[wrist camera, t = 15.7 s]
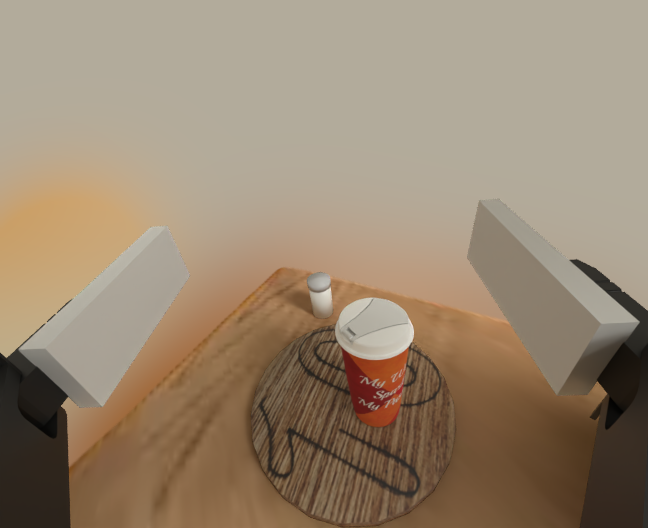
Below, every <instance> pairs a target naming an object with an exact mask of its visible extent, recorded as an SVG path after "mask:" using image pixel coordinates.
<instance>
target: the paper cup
mask: <svg viewBox="0 0 648 528" xmlns="http://www.w3.org/2000/svg"><path fill="white" fill-rule="evenodd" d="M335 335H336V339H337V341H338V343H339V344H340V345H341V350H342V355H343V360H344V365H345V371H346V376H347V381H348V385H349V390H350V394H351V399H352V403H353V407H354V411H355V413H356V415H357V416H358V418H359V419H360V420H361V421H362V422H363V423H365V424H367V425H369V426H372V427H384V426H387V425H389V424H391V423H392V422H393V421H394V420H395V419H396V418H397V416H398V413H399V410H400V404H401V398H402V391H403V384H404V377H405V370H406V363H407V355H408V348H409V345H410V344H411V342H412V340H413V336H414V330H413V325H412V323H411V321H410V320H409V318H408V315H407V313H406V312H405V311H404V310H403V309H402V308H401V307H400V306H398V305H397V304H395V303H393V302H391V301H389V300H385V299H380V298H364V299H360V300H357V301H355V302H352V303H351V304H349V305H348V306H346V307H345V308H344V309H343V311H342V312H341V314H340V316H339V319H338V321H337V323H336V327H335Z"/></svg>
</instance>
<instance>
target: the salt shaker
mask: <svg viewBox="0 0 648 528" xmlns="http://www.w3.org/2000/svg"><path fill="white" fill-rule="evenodd" d="M307 284H308V288H309V292H310V298H311V303H312V309H313V314H314V316H315V317H317V318H320V319H325V318H328V317H330V316H331V315H332V314H333V303H332V295H331V281H330V276H329V275H328V274H326V273H322V272H318V273H314V274H312V275H310V276H309V277H308V279H307Z"/></svg>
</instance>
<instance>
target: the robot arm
mask: <svg viewBox="0 0 648 528" xmlns="http://www.w3.org/2000/svg"><path fill="white" fill-rule="evenodd" d="M467 258H468V260H469V261H470V263H471V264H472V266H473V268H474V269H475V271H476V272H477V274H478V275H479V277H480V278H481V280H482V281H483V283H484V284H485V286H486V288H487V289H488V291H489V292H490V294H491V295H492V297H493V298H494V300H495V301H496V303H497V304H498V306H499V308H500V309H501V311H502V312H503V314H504V315H505V317H506V318H507V320H508V321H509V323H510V324H511V326H512V328H513V329H514V331H515V332H516V334H517V335H518V337H519V338H520V340H521V341H522V343H523V344H524V346H525V348H526V349H527V351H528V352H529V354H530V355H531V357H532V358H533V360H534V361H535V363H536V364H537V366H538V368H539V369H540V371H541V372H542V374H543V375H544V377H545V378H546V380H547V381H548V383H549V384H550V386H551V388H552V389H553V391H554V392H555V394H556V395H557V396H560V395H588V393H589V392H590V390H591V389H592V388H593V386H594V385H595V383H596V382H597V381H598V382H599V383H600V385H601V386H602V387H603V388H604V390H605V391H606V392H607V393H608V394H607V395H606V396H605V398H604V399H603V400H602V402H601V403H600V404H599V405H598V407H597V408H596V409H595V410H594V412H593V413H592V415H591V416H590V418H592V419H594V420H596V419H597V417H598V416H599V415H600V417H599V422H598V428H597V433H596V439H595V445H594V450H593V456H592V461H591V467H590V473H589V478H588V484H587V489H586V495H585V501H584V506H583V512H582V517H581V523H580V528H648V311H647V310H646V309H645V308H643V307H642V306H641V305H640V304H639V303H637V302H636V301H635V300H634V299H632V298H631V297H630V296H629V295H628V294H626V293H625V292H622V291H621V289H620V288H619V287H618V286H617V285H615V284H614V283H612V282H610V280H609V279H608V278H607V277H606V276H604V275H603V274H602V273H600V272H599V271H598V270H597V269H596V268H594V267H591V266H590V265H587V264H585V263H583V262H581V261H579V260H577V259H576V260H568V259H567V258H566V257H565V256H564V255H562V254H561V253H560V252H559V251H558V250H557V249H556V248H555V247H553V246H552V245H551V244H550V243H549V242H548V241H547V240H545V239H544V238H543V237H542V236H541V235H540V234H539V233H537V232H536V231H535V230H534V229H533V228H532V227H531V226H529V225H528V224H527V223H526V222H525V221H524V220H523V219H521V218H520V217H519V216H518V215H517V214H516V213H514V212H513V211H512V210H511V209H510V208H509V207H508V206H507V205H505V204H504V203H503V202H502V201H501V200H500V199H491V200H479V203H478V207H477V212H476V217H475V222H474V227H473V232H472V237H471V241H470V246H469V251H468V256H467ZM189 277H190V274H189V272H188V270H187V268H186V266H185V263H184V261H183V259H182V257H181V255H180V252H179V250H178V248H177V246H176V244H175V242H174V239H173V237H172V235H171V233H170V231H169V228H168V226H159V227H151V228H149V229H148V230H147V231H146V232H145V233H144V234H143V235H142V236H141V237H140V238H139V239H137V240H136V241H135V242H134V243H133V244H132V245H131V246H130V247H129V248H128V249H127V250H126V251H125V252H123V254H121V255H120V256H119V257H118V258H117V259H116V260H115V261H114V262H113V263H111V265H109V266H108V267H107V268H106V269H105V270H104V271H103V272H102V273H101V274H100V275H98V276H97V278H95V279H94V280H93V281H92V282H91V283H90V284H89V285H88V286H86V287H85V288H84V289H83V290H82V291H81V292H80V293H79V294H78V295H77V296H76V297H75V298H73V299H72V300H70V301H69V302H67V303H66V304H65V305H64V306H63V307H62V308H61V309H60V310H59V311H58V312H57V314H54V315H53V316H52V317H51V318H50V319H49V320H48V321H47V323H46V324H43V325H42V326H41V327H40V328H39V329H38V330H37V331H36V332H35V333H34V334H33V335H31V336H30V337H29V338H28V339H27V340H26V341H25V342H24V343H23V344H22V345H21V346H20V347H18V348H17V349H16V350H15V351H14V352H13V353H12V354H11V355H10V356H8V357H7V358H6V357H4V356H3V355H2V354H1V353H0V528H70V498H69V466H68V434H67V414H66V411H65V409H63V408H62V407H61V405H62V404H63V402H64V401H65V400H66V399H67V397H69V398H70V399H71V400H72V401H73V402H74V403H75V404H77V405H78V406H79V407H80V408H82V407H103V406H104V404H105V403H106V401H107V400H108V398H109V397H110V395H111V394H112V392H113V391H114V389H115V388H116V386H117V385H118V383H119V382H120V380H121V379H122V377H123V376H124V374H125V373H126V371H127V369H128V368H129V367H130V365H131V364H132V362H133V361H134V359H135V358H136V356H137V355H138V353H139V352H140V350H141V349H142V347H143V346H144V344H145V343H146V341H147V340H148V338H149V337H150V335H151V334H152V332H153V331H154V329H155V328H156V326H157V325H158V323H159V322H160V320H161V319H162V317H163V316H164V314H165V313H166V311H167V310H168V308H169V307H170V305H171V304H172V302H173V301H174V299H175V298H176V296H177V295H178V293H179V292H180V290H181V289H182V287H183V286H184V284H185V283H186V281H187V280H188V278H189Z"/></svg>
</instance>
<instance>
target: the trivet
mask: <svg viewBox="0 0 648 528" xmlns="http://www.w3.org/2000/svg"><path fill="white" fill-rule="evenodd" d="M335 327H336V325H331V326H327V327H324V328H320V329H317V330H313V331H311V332H310V333H308V334H306V335H304V336H302V337H300V338H298V339H296V340H295V341H293V342H292V343H291V344H290V345H288V346H287V347H286V348H285V349H283V350H282V351H281V352H280V353H279V354H278V355H277V356H276V358H275V359H274V360H273V361H272V363H271V364H270V365H269V366H268V368H267V369H266V370H265V372H264V374H263V377H262V379H261V381H260V383H259V385H258V387H257V389H256V392H255V397H254V402H253V407H252V412H251V424H252V438H253V444H254V447H255V449H256V452H257V455H258V458H259V460H260V463H261V466H262V469H263V471H264V473H265V474H266V476H267V477H268V478H269V480H270V481H271V482H272V484H273V485H274V486H275V488H276V489H277V490H278V492H279V493H280V494H281V496H282V497H283V498H284V499H285V500H287V501H288V502H289V503H291V504H292V505H294V506H295V507H296V508H298V509H299V510H301V511H302V512H303V513H305V514H306V515H308V516H309V517H310V518H314V519H317V520H320V521H324V522H327V523H330V524H333V525H337V526H340V527H365V526H379V525H381V524H384V523H386V522H388V521H391V520H393V519H396V518H398V517H401V516H403V515H406V514H408V513H410V512H411V511H412V510H413V509H414V508H415V507H416V506H418V505H419V504H420V503H421V502H422V501H423V500H424V499H425V498H427V497H428V496H429V495H430V494H431V493H432V492H433V491H434V490H435V488H436V486H437V484H438V482H439V481H440V479H441V477H442V475H443V473H444V472H445V470H446V468H447V466H448V465H449V462H450V458H451V453H452V448H453V443H454V438H455V433H456V423H455V412H454V402H453V400H452V397H451V394H450V392H449V389H448V387H447V384H446V381H445V379H444V377H443V376H442V374H441V373H440V371H439V370H438V369H437V367H436V366H435V364H434V363H433V361H432V360H431V359H430V358H429V357H428V356H427V355H426V354H425V353H424V352H423V351H422V350H420V349H419V348H418V347H417V346H416V345H415V344H414V343H412V342H411V344H410V345H409V348H408V355H407V363H406V370H405V377H404V384H403V391H402V398H401V404H400V410H399V413H398V416H397V418H396V419H395V420H394V421H393V422H392V423H391V424H389V425H387V426H384V427H372V426H369V425H367V424H365V423H363V422H362V421H361V420H360V419H359V418H358V416H357V415H356V413H355V411H354V407H353V403H352V399H351V394H350V390H349V385H348V381H347V376H346V371H345V365H344V360H343V355H342V350H341V345H340V344H339V343H338V341H337V339H336V335H335Z"/></svg>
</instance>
